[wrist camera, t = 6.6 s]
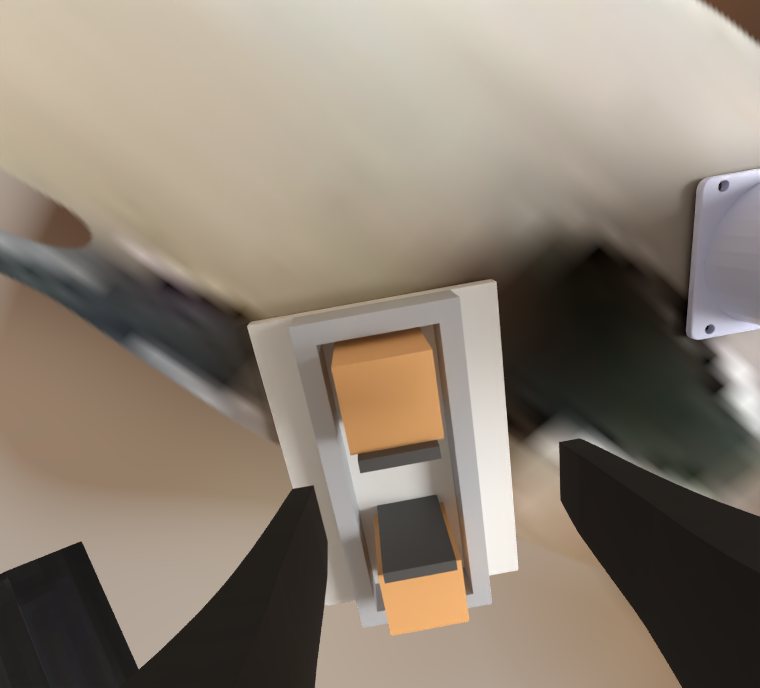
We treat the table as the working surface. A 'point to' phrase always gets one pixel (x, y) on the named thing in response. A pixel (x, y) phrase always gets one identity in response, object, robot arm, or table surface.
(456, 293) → the grey frame base
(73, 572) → the dark thin upright piece
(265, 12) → the table surface
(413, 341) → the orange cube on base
